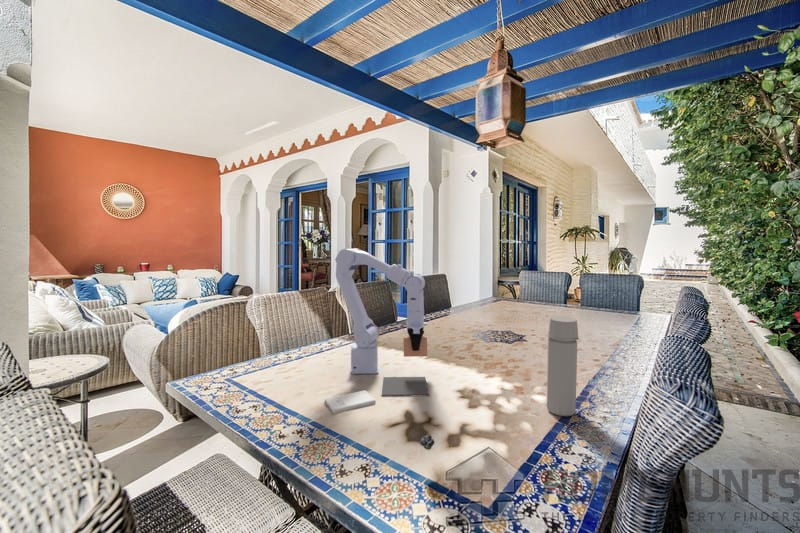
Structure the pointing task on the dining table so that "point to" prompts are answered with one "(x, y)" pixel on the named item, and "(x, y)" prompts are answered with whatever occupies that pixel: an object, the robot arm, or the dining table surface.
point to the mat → (404, 386)
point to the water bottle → (562, 366)
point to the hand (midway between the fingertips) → (415, 349)
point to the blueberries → (427, 441)
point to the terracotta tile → (408, 347)
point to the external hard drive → (349, 401)
